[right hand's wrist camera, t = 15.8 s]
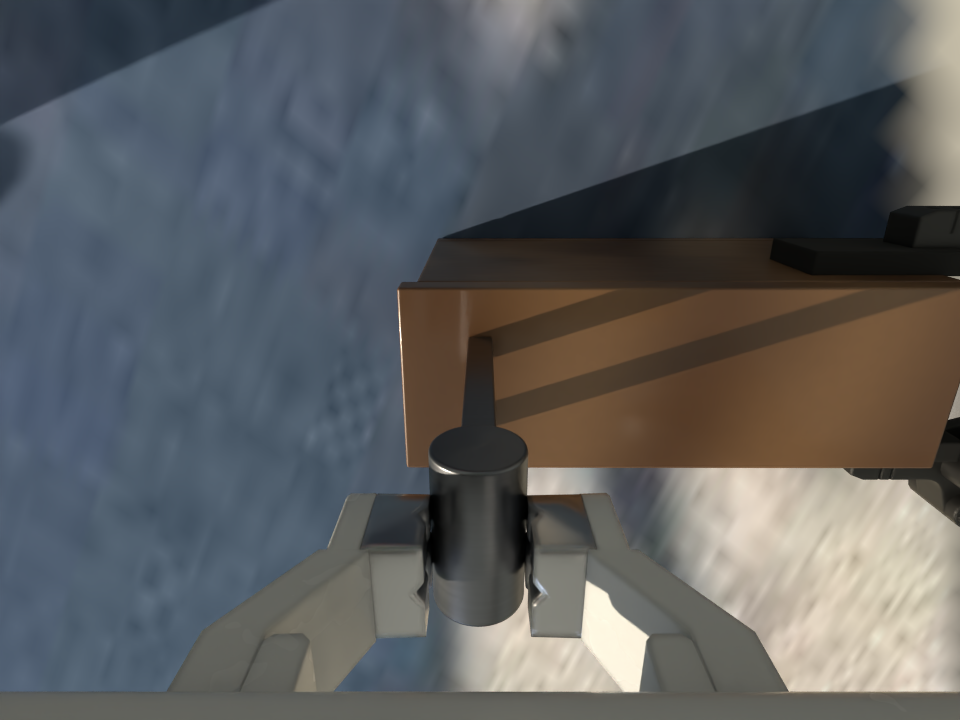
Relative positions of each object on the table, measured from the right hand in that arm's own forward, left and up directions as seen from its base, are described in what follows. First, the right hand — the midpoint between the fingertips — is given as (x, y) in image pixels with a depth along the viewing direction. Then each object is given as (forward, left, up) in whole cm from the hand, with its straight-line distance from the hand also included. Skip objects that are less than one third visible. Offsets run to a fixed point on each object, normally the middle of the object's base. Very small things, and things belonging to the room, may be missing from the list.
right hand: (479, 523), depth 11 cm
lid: (+2, +6, -8) cm, 10 cm away
